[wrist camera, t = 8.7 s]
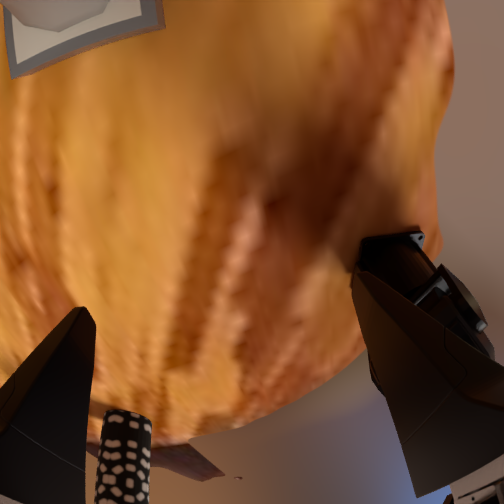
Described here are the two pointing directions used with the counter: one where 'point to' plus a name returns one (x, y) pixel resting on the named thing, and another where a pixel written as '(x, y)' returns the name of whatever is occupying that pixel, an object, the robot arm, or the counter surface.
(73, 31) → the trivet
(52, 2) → the flask
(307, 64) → the counter surface
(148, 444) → the white-spotted black cylinder
